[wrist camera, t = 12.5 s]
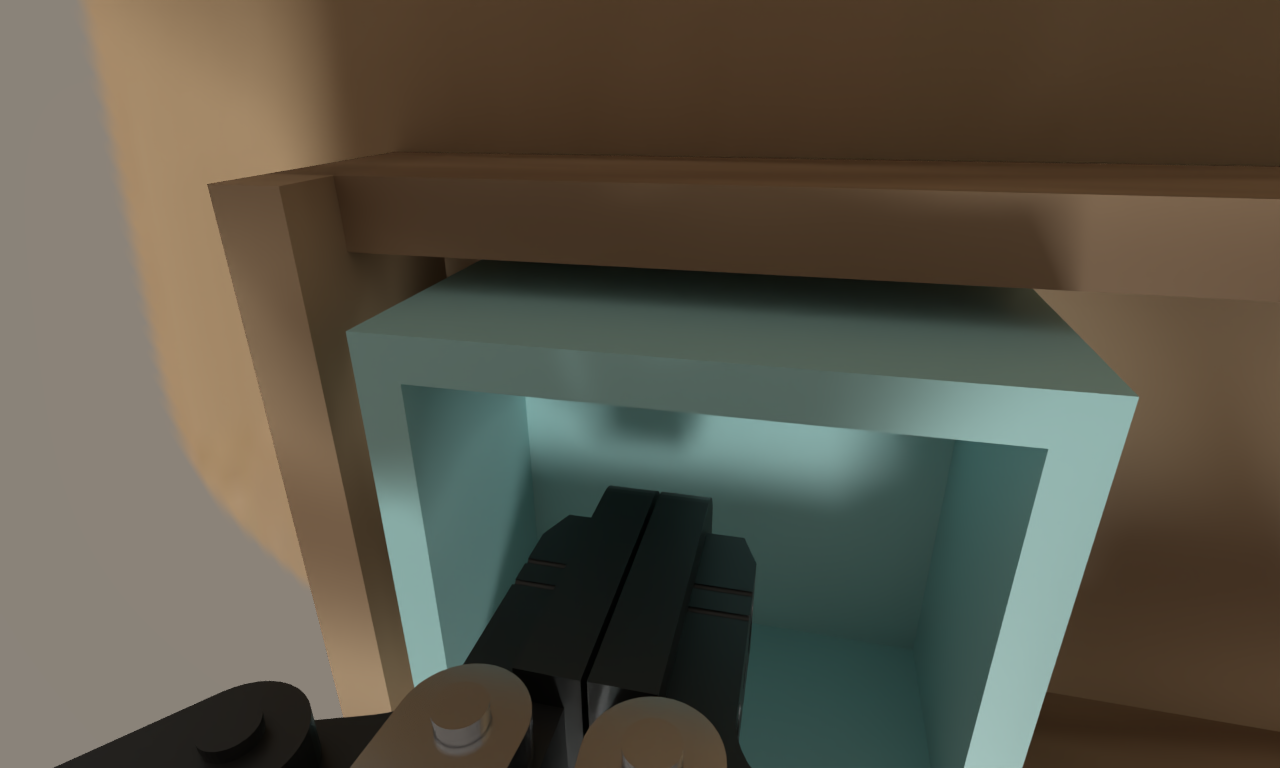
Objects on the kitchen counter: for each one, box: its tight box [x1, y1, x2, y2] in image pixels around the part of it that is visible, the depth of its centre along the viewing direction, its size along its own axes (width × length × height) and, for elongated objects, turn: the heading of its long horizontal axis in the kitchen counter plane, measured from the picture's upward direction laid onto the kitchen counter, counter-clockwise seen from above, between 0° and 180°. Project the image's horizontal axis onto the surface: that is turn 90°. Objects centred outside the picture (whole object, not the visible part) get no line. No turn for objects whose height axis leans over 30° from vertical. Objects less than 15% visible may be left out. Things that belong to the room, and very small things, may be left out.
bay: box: [207, 152, 1280, 768], centre depth 10 cm, size 10×22×4 cm, turn 91°
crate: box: [346, 259, 1139, 768], centre depth 10 cm, size 7×8×4 cm
